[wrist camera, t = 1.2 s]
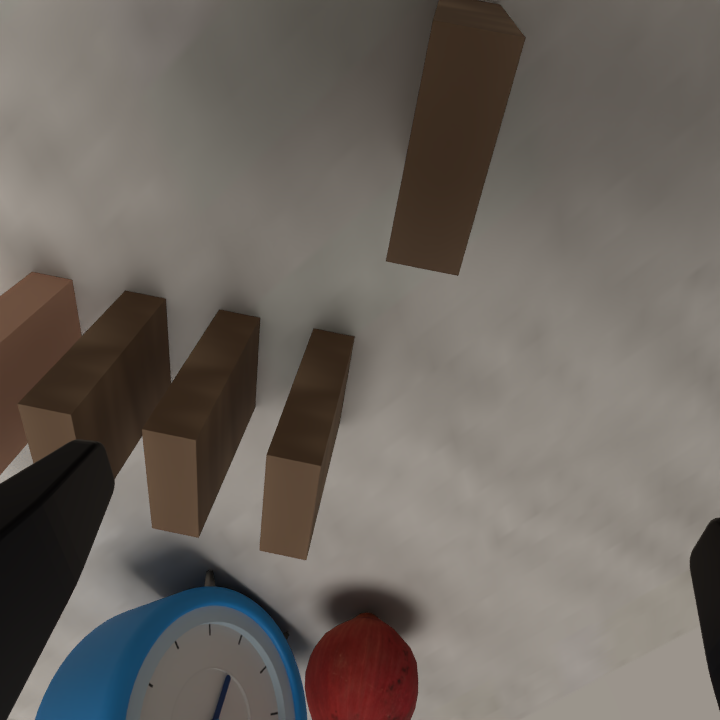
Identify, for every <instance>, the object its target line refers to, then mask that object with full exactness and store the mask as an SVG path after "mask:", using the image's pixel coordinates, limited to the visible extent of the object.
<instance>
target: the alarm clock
mask: <svg viewBox="0 0 720 720" xmlns="http://www.w3.org/2000/svg"><path fill="white" fill-rule="evenodd" d="M288 636H289V633H288V631H287V632H284V633H282V632H281V630H280V628H279V627H278V625H277V624H276V623H275V622H274V620H273V619H272V618H271V617H270V615H269V614H268V613H267V612H266V611H265V610H264V609H263V608H262V607H260V606H259V605H258V604H257V603H255V602H254V601H253V600H251V599H250V598H248V597H247V596H245V595H243V594H241V593H239V592H236V591H234V590H231V589H227V588H223V587H216V586H215V581H214V575H213V571H211V570H209V571H207V573H206V579H205V586H204V587H197V588H192V589H188V590H185V591H182V592H179V593H177V594H174V595H171V596H168V597H165V598H163V599H160V600H157V601H154V602H151V603H149V604H146V605H143V606H140V607H138V608H135V609H132V610H129V611H126V612H124V613H121V614H119V615H117V616H115V617H113V618H111V619H109V620H107V621H106V622H104V623H103V624H101V625H100V626H98V627H97V628H95V629H94V630H93V631H92V632H91V633H89V634H88V635H87V636H86V637H85V638H84V639H83V640H82V641H81V642H80V643H79V644H78V645H77V646H76V647H75V648H74V649H73V650H72V651H71V653H70V654H69V655H68V656H67V658H66V659H65V660H64V662H63V663H62V665H61V666H60V667H59V669H58V671H57V672H56V674H55V676H54V677H53V679H52V681H51V682H50V684H49V686H48V688H47V690H46V692H45V694H44V697H43V699H42V702H41V704H40V707H39V709H38V712H37V715H36V718H35V720H307V710H306V702H305V695H304V690H303V685H302V681H301V677H300V673H299V670H298V666H297V663H296V661H295V658H294V655H293V653H292V651H291V648H290V646H289V644H288V642H287V638H288Z"/></svg>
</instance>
